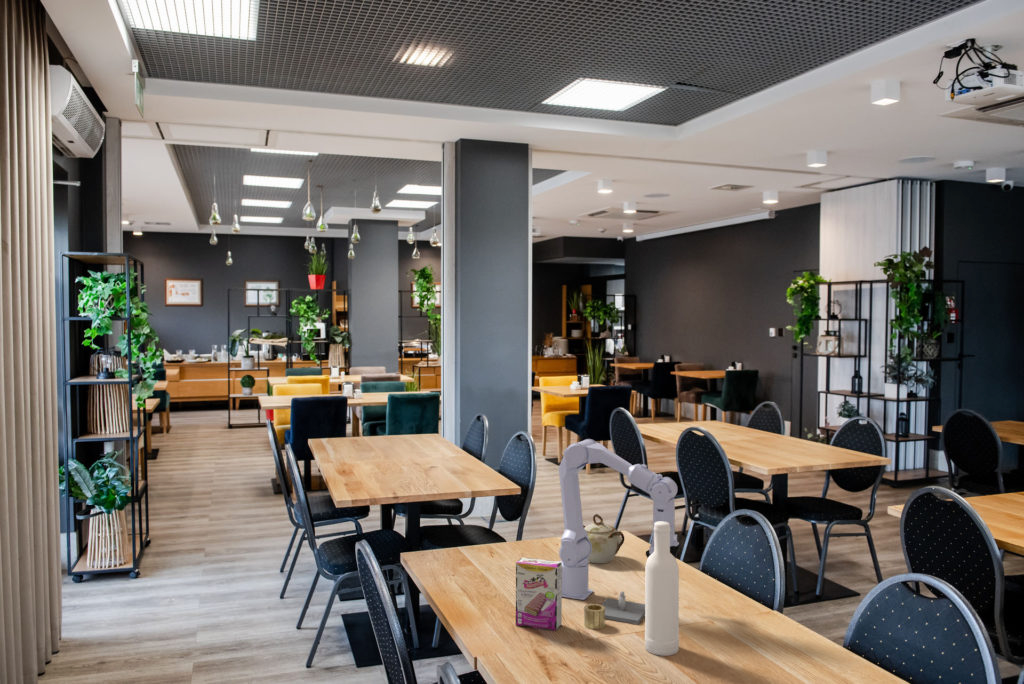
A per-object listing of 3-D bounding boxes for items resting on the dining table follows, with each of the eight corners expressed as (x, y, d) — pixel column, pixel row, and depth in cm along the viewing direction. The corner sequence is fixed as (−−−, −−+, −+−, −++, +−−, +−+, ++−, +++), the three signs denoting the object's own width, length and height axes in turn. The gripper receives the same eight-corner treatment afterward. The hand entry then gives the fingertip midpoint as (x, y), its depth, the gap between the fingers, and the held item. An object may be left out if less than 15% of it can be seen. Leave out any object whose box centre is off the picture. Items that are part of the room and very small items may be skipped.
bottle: (685, 654, 174) (685, 525, 174) (654, 658, 172) (654, 528, 171) (668, 640, 182) (668, 517, 181) (639, 644, 180) (639, 520, 179)
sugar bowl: (560, 559, 246) (560, 513, 246) (587, 549, 257) (587, 505, 257) (610, 572, 233) (610, 524, 233) (636, 560, 244) (636, 515, 244)
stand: (593, 616, 197) (593, 596, 196) (607, 601, 207) (607, 582, 207) (638, 624, 191) (638, 603, 191) (649, 608, 202) (649, 588, 202)
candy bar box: (514, 626, 191) (514, 562, 190) (521, 618, 195) (520, 556, 195) (557, 631, 187) (557, 566, 187) (562, 624, 192) (562, 560, 191)
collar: (581, 627, 190) (581, 609, 190) (588, 619, 195) (588, 602, 195) (601, 630, 188) (601, 612, 188) (607, 623, 192) (607, 605, 192)
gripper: (667, 532, 192) (667, 585, 192) (687, 520, 204) (687, 569, 204) (642, 528, 196) (641, 580, 196) (663, 516, 208) (663, 565, 208)
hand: (663, 574), depth 200 cm, fingers open, 7 cm apart
